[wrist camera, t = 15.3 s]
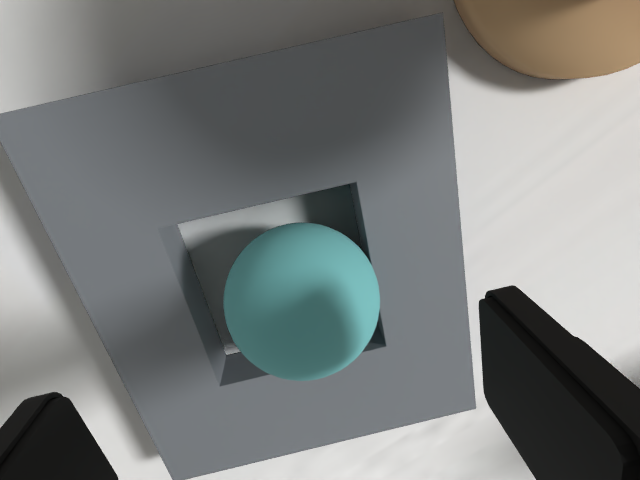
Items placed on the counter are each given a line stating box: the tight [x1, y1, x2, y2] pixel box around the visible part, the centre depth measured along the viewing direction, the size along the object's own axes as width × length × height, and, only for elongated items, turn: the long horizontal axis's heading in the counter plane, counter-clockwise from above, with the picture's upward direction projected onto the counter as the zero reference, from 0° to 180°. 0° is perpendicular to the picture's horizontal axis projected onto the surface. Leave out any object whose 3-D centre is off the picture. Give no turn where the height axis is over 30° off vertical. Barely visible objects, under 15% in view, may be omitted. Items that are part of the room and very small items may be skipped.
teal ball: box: [223, 223, 380, 381], centre depth 14 cm, size 6×6×6 cm
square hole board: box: [0, 13, 476, 480], centre depth 15 cm, size 16×14×2 cm
